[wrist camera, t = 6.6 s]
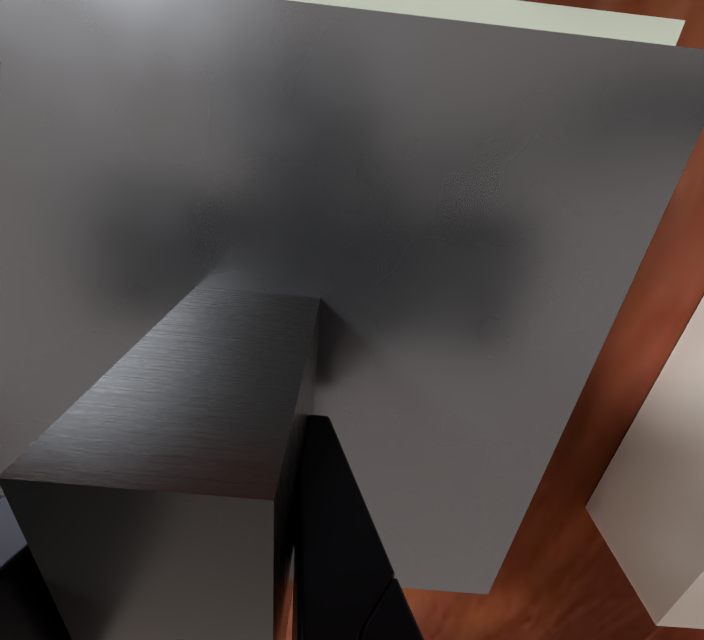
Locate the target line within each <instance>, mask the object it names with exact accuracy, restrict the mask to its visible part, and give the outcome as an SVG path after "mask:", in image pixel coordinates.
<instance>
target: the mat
mask: <svg viewBox="0 0 704 640" xmlns="http://www.w3.org/2000/svg"><path fill="white" fill-rule="evenodd" d="M290 1H298V2H307V3H315V4H324V5H332V6H340V7H349V8H357V9H366V10H374V11H383V12H391V13H400V14H408V15H417V16H425V17H434V18H442V19H451V20H459V21H467V22H476V23H484V24H493V25H501V26H510V27H518V28H527V29H535V30H544V31H552V32H561V33H569V34H578V35H586V36H594V37H603V38H611V39H620V40H628V41H637V42H645V43H654V44H662V45H671V46H676V43H677V41H678V38H679V36H680V33H681V31H682V28H683V25H684V23H685V20H677V19H669V18H660V17H652V16H644V15H635V14H627V13H619V12H610V11H602V10H594V9H585V8H577V7H569V6H560V5H552V4H544V3H535V2H527V1H519V0H290Z"/></svg>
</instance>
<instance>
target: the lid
mask: <svg viewBox="0 0 704 640" xmlns="http://www.w3.org/2000/svg"><path fill="white" fill-rule="evenodd" d="M703 127H704V49H696V48H688V47H679V46H671V45H662V44H654V43H645V42H637V41H628V40H620V39H611V38H603V37H594V36H586V35H578V34H569V33H561V32H552V31H544V30H535V29H527V28H518V27H510V26H501V25H493V24H484V23H476V22H467V21H459V20H451V19H442V18H434V17H425V16H417V15H408V14H400V13H391V12H383V11H374V10H366V9H357V8H349V7H340V6H332V5H324V4H315V3H307V2H298V1H290V0H0V495H1V497H2V496H3V495H5V497H6V499H7V501H8V503H9V506H10V508H11V510H12V512H13V514H14V516H15V518H16V521H17V523H18V525H19V527H20V529H21V531H22V533H23V536H24V538H25V540H26V542H27V544H28V546H29V549H30V551H31V553H32V555H33V557H34V559H35V561H36V564H37V566H38V568H39V570H40V572H41V574H42V576H43V579H44V581H45V583H46V585H47V587H48V589H49V592H50V594H51V596H52V598H53V600H54V602H55V604H56V607H57V609H58V611H59V613H60V615H61V617H62V619H63V622H64V624H65V626H66V628H67V630H68V632H69V635H70V637H71V639H72V640H285V639H286V632H287V625H288V618H289V611H290V605H291V598H292V591H293V578H294V541H295V520H296V498H297V476H298V466H299V460H300V455H301V451H302V446H303V441H304V436H305V431H306V427H307V422H308V417H309V415H322V416H328V417H329V418H330V420H331V422H332V425H333V427H334V429H335V432H336V434H337V437H338V439H339V441H340V444H341V446H342V449H343V451H344V453H345V456H346V458H347V460H348V463H349V465H350V468H351V470H352V472H353V475H354V477H355V479H356V482H357V484H358V487H359V489H360V491H361V494H362V496H363V499H364V501H365V503H366V506H367V508H368V510H369V513H370V515H371V518H372V520H373V522H374V525H375V527H376V530H377V532H378V534H379V537H380V539H381V541H382V544H383V546H384V549H385V551H386V553H387V556H388V558H389V560H390V563H391V565H392V568H393V570H394V572H395V577H394V578H396V579H398V581H399V584H400V586H401V588H411V589H424V590H437V591H450V592H463V593H476V594H488V593H489V591H490V589H491V587H492V585H493V583H494V580H495V578H496V576H497V574H498V572H499V570H500V567H501V565H502V563H503V561H504V559H505V557H506V554H507V552H508V550H509V548H510V546H511V543H512V541H513V539H514V537H515V535H516V533H517V530H518V528H519V526H520V524H521V522H522V520H523V517H524V515H525V513H526V511H527V509H528V507H529V504H530V502H531V500H532V498H533V496H534V494H535V491H536V489H537V487H538V485H539V483H540V481H541V478H542V476H543V474H544V472H545V470H546V468H547V465H548V463H549V461H550V459H551V457H552V455H553V452H554V450H555V448H556V446H557V444H558V442H559V439H560V437H561V435H562V433H563V431H564V429H565V426H566V424H567V422H568V420H569V418H570V415H571V413H572V411H573V409H574V407H575V405H576V402H577V400H578V398H579V396H580V394H581V392H582V389H583V387H584V385H585V383H586V381H587V379H588V376H589V374H590V372H591V370H592V368H593V366H594V363H595V361H596V359H597V357H598V355H599V353H600V350H601V348H602V346H603V344H604V342H605V340H606V337H607V335H608V333H609V331H610V329H611V327H612V324H613V322H614V320H615V318H616V316H617V314H618V311H619V309H620V307H621V305H622V303H623V301H624V298H625V296H626V294H627V292H628V290H629V287H630V285H631V283H632V281H633V279H634V277H635V274H636V272H637V270H638V268H639V266H640V264H641V261H642V259H643V257H644V255H645V253H646V251H647V248H648V246H649V244H650V242H651V240H652V238H653V235H654V233H655V231H656V229H657V227H658V225H659V222H660V220H661V218H662V216H663V214H664V212H665V209H666V207H667V205H668V203H669V201H670V199H671V196H672V194H673V192H674V190H675V188H676V186H677V183H678V181H679V179H680V177H681V175H682V173H683V170H684V168H685V166H686V164H687V162H688V159H689V157H690V155H691V153H692V151H693V149H694V146H695V144H696V142H697V140H698V138H699V136H700V133H701V131H702V129H703Z"/></svg>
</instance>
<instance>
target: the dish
mask: <svg viewBox="0 0 704 640" xmlns="http://www.w3.org/2000/svg"><path fill="white" fill-rule="evenodd" d="M585 508H586V510H587V511H588V513H589V515H590V516H591V518H592V520H593V521H594V523H595V525H596V526H597V528H598V530H599V531H600V533H601V535H602V536H603V538H604V540H605V541H606V543H607V545H608V546H609V548H610V550H611V551H612V553H613V555H614V556H615V558H616V560H617V561H618V563H619V565H620V566H621V568H622V570H623V572H624V573H625V575H626V577H627V578H628V580H629V582H630V583H631V585H632V587H633V588H634V590H635V592H636V593H637V595H638V597H639V598H640V600H641V602H642V603H643V605H644V607H645V608H646V610H647V612H648V613H649V615H650V617H651V618H652V620H653V622H654V623H655V625H656V626H669V627H683V628H697V629H704V296H703V298H702V300H701V302H700V303H699V305H698V307H697V309H696V310H695V312H694V314H693V316H692V318H691V319H690V321H689V323H688V325H687V326H686V328H685V330H684V332H683V334H682V335H681V337H680V339H679V341H678V343H677V344H676V346H675V348H674V350H673V351H672V353H671V355H670V357H669V359H668V360H667V362H666V364H665V366H664V367H663V369H662V371H661V373H660V375H659V376H658V378H657V380H656V382H655V383H654V385H653V387H652V389H651V391H650V392H649V394H648V396H647V398H646V400H645V401H644V403H643V405H642V407H641V408H640V410H639V412H638V414H637V416H636V417H635V419H634V421H633V423H632V424H631V426H630V428H629V430H628V432H627V433H626V435H625V437H624V439H623V440H622V442H621V444H620V446H619V448H618V449H617V451H616V453H615V455H614V457H613V458H612V460H611V462H610V464H609V465H608V467H607V469H606V471H605V473H604V474H603V476H602V478H601V480H600V481H599V483H598V485H597V487H596V489H595V490H594V492H593V494H592V496H591V498H590V499H589V501H588V503H587V505H586V506H585Z"/></svg>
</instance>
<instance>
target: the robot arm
mask: <svg viewBox="0 0 704 640" xmlns="http://www.w3.org/2000/svg"><path fill="white" fill-rule="evenodd" d="M394 577H395V572H394V570H393V568H392V565H391V563H390V560H389V558H388V556H387V553H386V551H385V549H384V546H383V544H382V541H381V539H380V537H379V534H378V532H377V530H376V527H375V525H374V522H373V520H372V518H371V515H370V513H369V510H368V508H367V506H366V503H365V501H364V499H363V496H362V494H361V491H360V489H359V487H358V484H357V482H356V479H355V477H354V475H353V472H352V470H351V468H350V465H349V463H348V460H347V458H346V456H345V453H344V451H343V449H342V446H341V444H340V441H339V439H338V437H337V434H336V432H335V429H334V427H333V425H332V422H331V420H330V418H329V417H328V416H322V415H309V417H308V422H307V427H306V431H305V436H304V441H303V446H302V451H301V455H300V460H299V466H298V476H297V498H296V520H295V541H294V578H293V622H292V640H424V638H423V636H422V634H421V632H420V629H419V627H418V625H417V623H416V621H415V618H414V616H413V614H412V612H411V609H410V607H409V605H408V603H407V600H406V598H405V596H404V593H403V591H402V588H401V586H400V584H399V581H398V579H396V578H394ZM0 640H72V639H71V637H70V635H69V632H68V630H67V628H66V626H65V624H64V622H63V619H62V617H61V615H60V613H59V611H58V609H57V607H56V604H55V602H54V600H53V598H52V596H51V594H50V592H49V589H48V587H47V585H46V583H45V581H44V579H43V576H42V574H41V572H40V570H39V568H38V566H37V564H36V561H35V559H34V557H33V555H32V553H31V551H30V549H29V546H28V544H27V542H26V540H25V538H24V536H23V533H22V531H21V529H20V527H19V525H18V523H17V521H16V518H15V516H14V514H13V512H12V510H11V508H10V506H9V503H8V501H7V499H6V497H5V495H3V496H2V497H0Z"/></svg>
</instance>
